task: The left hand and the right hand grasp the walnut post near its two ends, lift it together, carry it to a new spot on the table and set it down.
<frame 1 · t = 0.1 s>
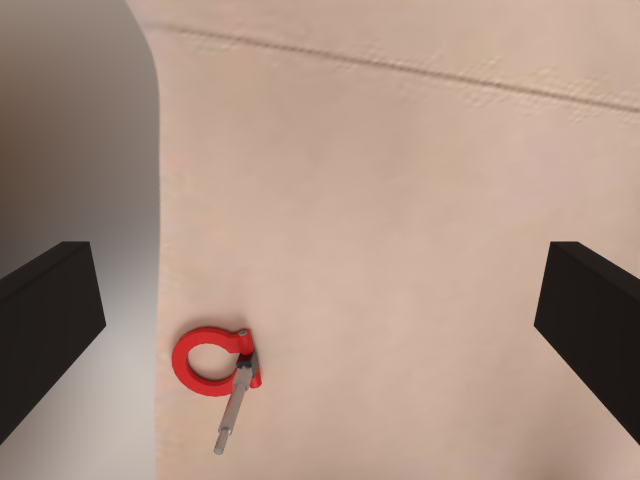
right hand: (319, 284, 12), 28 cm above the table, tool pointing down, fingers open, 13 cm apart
tow hook: (216, 358, 46), on the table
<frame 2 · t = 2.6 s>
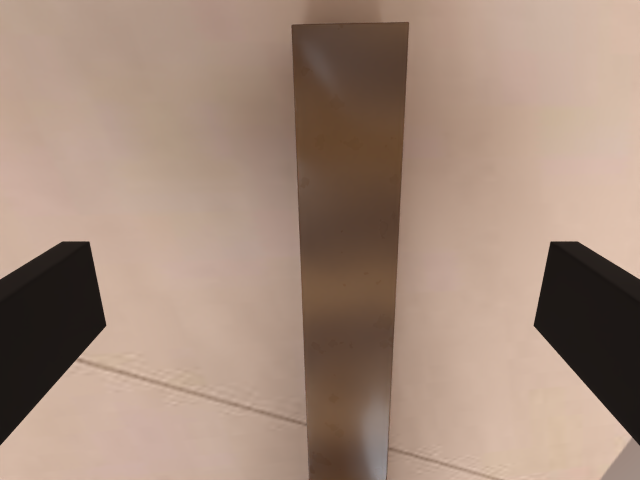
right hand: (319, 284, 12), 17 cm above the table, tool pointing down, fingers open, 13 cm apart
post: (341, 384, 34), on the table, touching left hand
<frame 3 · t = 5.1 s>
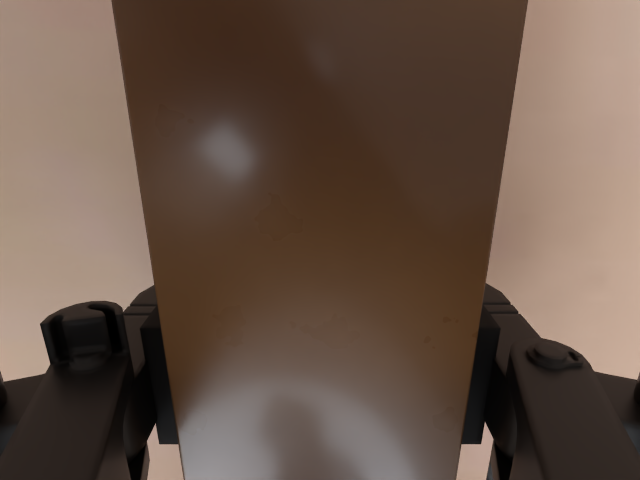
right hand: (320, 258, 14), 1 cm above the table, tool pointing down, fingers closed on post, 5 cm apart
when the right hand's fingers open (1 cm above the table, at t = 10.7 s): post stays where it is, on the table.
when the left hand's fingers open (4 cm above the table, at t = 10.8 s): post stays where it is, on the table.
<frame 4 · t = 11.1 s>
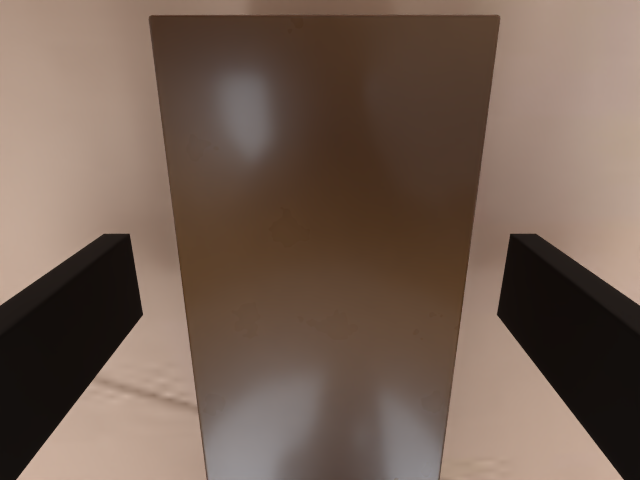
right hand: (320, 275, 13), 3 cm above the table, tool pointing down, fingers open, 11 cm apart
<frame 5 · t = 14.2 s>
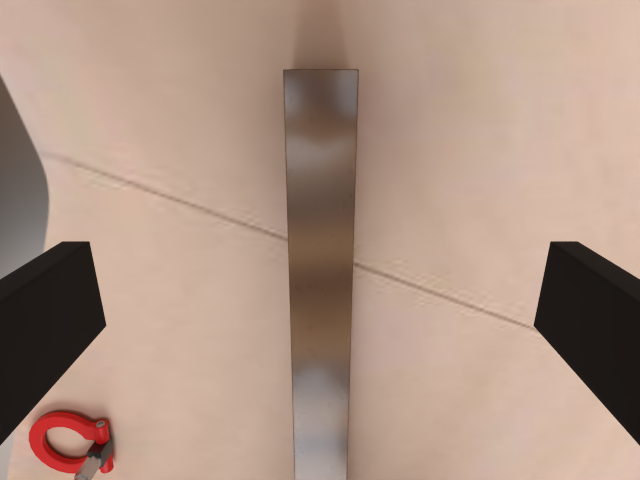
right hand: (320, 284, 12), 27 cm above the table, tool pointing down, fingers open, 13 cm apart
tow hook: (74, 438, 49), on the table
post: (320, 332, 44), on the table
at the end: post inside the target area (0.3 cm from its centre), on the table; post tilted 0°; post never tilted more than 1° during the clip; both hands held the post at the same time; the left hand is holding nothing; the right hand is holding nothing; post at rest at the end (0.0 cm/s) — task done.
